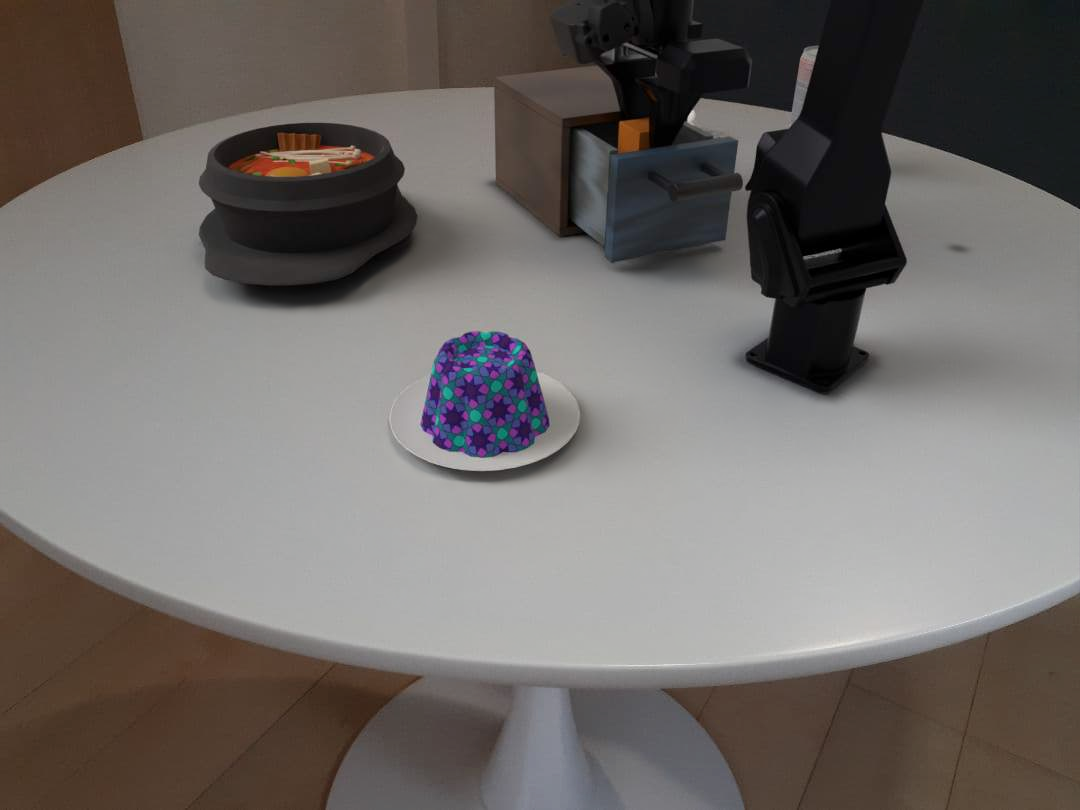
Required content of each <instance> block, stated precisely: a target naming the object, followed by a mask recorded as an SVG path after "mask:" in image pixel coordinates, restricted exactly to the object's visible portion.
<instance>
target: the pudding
mask: <svg viewBox="0 0 1080 810" xmlns="http://www.w3.org/2000/svg"><path fill="white" fill-rule="evenodd" d="M580 420H581V410H580V406H579V402H578V401H577V399H576V397H575V395H574V394H573V393H572V392H571V390H569V389H568V387H567V386H565V385H564V384H562V383H561V382H560V381H559V380H557V379H556V378H554V377H552V376H550V375H548V374H547V373H543V372H540V371H538V370H537V369H536V365H535V361H534V359H533V356H532V353H531V350H530V349H529V347H528V346H527V344H526V343H525V342H523V341H522V340H521V339H518V338H516V337H510V336H509V334H507V333H505V332H501V331H495V330H494V331H493V330H492V331H488V332H484V331H479V330H475V331H467V332H465V333H463V334H462V335H461V336H457V337H451V338H449V339H448V340H446V341H444V343H443V344H441V346H440V348H439V351H438V353H437V354H436V355H435V358H434V360H433V364H432V369H431V372H430V373H429V374H426V375H425V376H422V377H420V378H418V379H416V381H414V382H412V383H411V384H409V385H408V386H406V387H405V389H403V390H402V391H401V392H400V393H399V395H398V396H397V397H396V398H395V399H394V401H393V403H392V406H391V408H390V410H389V420H388V421H389V426H390V430H391V432H392V434H393V436H394V437H395V439H396V441H397V442H398V443H399V444H400V445H401V447H403V448H404V449H405V450H407V451H408V452H410V453H411V454H413V455H414V456H415V457H418V458H420V459H422V460H424V461H425V462H428V463H431V464H434V465H438V466H442V467H443V468H450V469H454V470H460V471H472V472H473V471H474V472H488V471H489V472H490V471H503V470H510V469H515V468H519V467H523V466H526V465H531V464H534V463H536V462H538V461H540V460H543V459H546V458H548V457H549V456H551V455H553V454H555V453H556V452H558V451H559V450H560V449H562V448H563V447H564V446H565V445H566V444H567V443H569V442H570V440H571V439H572V438H573V437H574V435H575V434H576V433H577V430H578V427H579V425H580Z"/></svg>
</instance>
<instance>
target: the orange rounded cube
mask: <svg viewBox="0 0 1080 810" xmlns="http://www.w3.org/2000/svg"><path fill="white" fill-rule="evenodd" d="M673 142H674V141H673ZM672 145H673V143H672ZM645 149H650V146H649V117H648V118H641V119H634V120H627V121H620V122H619V136H618V154H619V153H625V152H632V151H638V150H645Z"/></svg>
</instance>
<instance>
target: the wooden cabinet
mask: <svg viewBox="0 0 1080 810" xmlns="http://www.w3.org/2000/svg"><path fill="white" fill-rule="evenodd" d="M493 85H494V86H493V92H494V93H493V96H494V97H493V98H494V99H493V100H494V102H493V103H494V150H495V151H494V155H495V156H494V158H495V161H494V162H495V185H496V186H498V187H499V188H500V189H501V190H503V191H504V192H505V193H506V194H508V196H510V197H511V198H512V199H513V200H515V201H516V202H517V203H518V204H519V205H521V206H522V207H523V208H524V209H525V210H527V211H528V212H529V213H530V214H532V215H533V216H534V217H535V218H536V219H538V220H539V222H541V223H543V224H544V225H545V226H546V227H547V228H549V230H551V231H552V232H553V233H555V234H556V235H557V236H558V237H565V236H570V235H577V234H581V233H586V232H585V231H584V230H583V229H581V228H580V227H579V226H577V225H576V224H575V223H574V222H572V221H571V220H570V219H569V218H568V185H569V150H570V127H573V126H581V125H588V124H595V123H603V122H610V121H617V120H622V117H621V113H620V108H619V104H618V100H617V96H616V93H615V89H614V86H613V82H612V80H611V79H610V77H609V76H608V75H607V74H606V73H605V72H604V71H603V70H602V69H601V68H600V67H599V66H597V65H589V66H581V67H580V66H579V67H572V68H562V69H553V70H552V69H551V70H545V71H544V70H543V71H535V72H527V73H526V72H525V73H516V74H508V75H501V76H500V75H499V76H498V75H497V76H494V77H493ZM687 120H688V118H687V119H686V122H687Z"/></svg>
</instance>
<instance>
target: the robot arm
mask: <svg viewBox="0 0 1080 810" xmlns="http://www.w3.org/2000/svg"><path fill="white" fill-rule="evenodd" d="M924 3H925V0H830V3H829V7H828V11H827V14H826V18H825V23H824V25H823V28H822V32H821V37H820V40H819V44H818V46H819V47H818V51H817V55H816V58H815V62H814V66H813V70H812V73H811V77H810V81H809V85H808V88H807V92H806V96H805V99H804V103H803V107H802V110H801V113H800V115H799V116H798V118H797V119H796V120H795V122H794V123H793V124H792V125H791V126H790V125H789V126H790V127H789V126H788V128H783V129H776V130H770V131H765V132H763V133H762V135H761V137H760V138H759V141H758V142H757V145H756V148H755V156H754V165H753V170H752V171H751V175H750V177H749V180H748V181H747V182H746V185H745V187H744V189H745V191H746V192H750V194H749V197H748V200H747V207H746V228H747V240H748V254H749V266H750V277H751V280H752V281H753V282H755V283H756V284H757V285H759V286H760V288H761V290H760V294H761V295H762V296H764V297H765V298H769V299H774V304H773V310H772V315H771V321H770V326H769V334H768V337H767V338H766V339H764V340H763V341H761V342H759V343H758V344H757V345H755V346H754V347H752V348H751V349H750V350H748V351H746V353H745V357H744V359H745V361H746V362H747V363H749V364H752V365H755V366H757V367H758V368H762V369H764V370H767V371H769V372H770V373H774V374H776V375H778V376H781V377H784V378H786V379H787V380H790V381H793V382H795V383H798V384H800V385H803V386H805V387H807V388H810V389H812V390H814V391H817V392H819V393H825V394H826V393H829V392H831V391H833V390H834V389H835V388H836V387H837V386H839V385H841V383H842V382H843V381H845V380H846V379H848V377H850V376H851V375H852V374H853V373H855V372H856V371H857V370H858V369H859V368H861V367H862V366H863V365H865V364H866V363H867V362H868V361H869V359H870V353H869V352H868V351H867V350H864V349H862V348H859V347H857V346H854V344H855V341H856V336H857V331H858V327H859V322H860V320H861V319H860V318H861V315H862V311H863V310H862V309H863V306H864V300H865V296H866V293H867V289H870V288H874V287H878V286H879V287H880V286H883V285H892V284H895V283H896V281H897V279H898V278H899V276H900V275H901V273H902V272H903V270H904V269H905V267H906V266H907V263H908V259H907V256H906V253H905V251H904V249H903V246H902V244H901V241H900V238H899V236H898V232H897V230H896V228H895V225H894V223H893V220H892V218H891V216H890V212H889V210H888V207H887V205H886V201H887V197H888V192H889V187H890V182H891V177H892V167H891V163H890V159H889V155H888V152H887V148H886V144H885V139H884V136H883V128H884V123H885V121H886V116H887V114H888V111H889V109H890V105H891V102H892V99H893V96H894V93H895V90H896V87H897V85H898V81H899V78H900V75H901V72H902V69H903V66H904V63H905V60H906V58H907V54H908V51H909V48H910V45H911V42H912V39H913V35H914V33H915V30H916V27H917V23H918V21H919V18H920V15H921V12H922V9H923V6H924ZM694 4H695V0H570V1H568V2H566V3H563V4H562V5H560V6H557V7H556V8H554V9H553V10H551V11H550V12H549V13H548V18H549V21H550V25H551V28H552V31H553V34H554V39H555V42H556V45H557V48H558V52H559V54H560V55H561V56H563V57H566V56H567V57H569V58H571V59H572V60H574V62H575V63H576V64H579V65H587V64H591V63H593V64H594V65H595V66H599V67H600V68H601V69H602V70H603V71H604V72H605V73H606V74H607V75H608V76H609V77H610V79H611V80H612V82H613V86H614V89H615V93H616V96H617V100H618V104H619V108H620V113H621V117H622V121H627V120H634V119H641V118H648V117H649V146H650V149H652V148H658V147H665V146H671V145H672V143H673V141H674V140H675V138H676V136H677V134H678V133H679V131H680V129H681V128H682V126H683V124H684V123H685V121H686V119H687V118H688V116H689V114H690V113H691V111H692V110H694V109H695V107H696V106H697V104H698V103H699V101H700V100H701V98H702V97H703V96H704V94H710V93H711V94H712V93H719V92H727V91H728V92H729V91H734V90H742V89H748V88H749V86H750V81H751V74H752V73H751V71H752V66H753V65H752V64H753V59H752V57H751V55H750V54H749V53H748V52H747V50H746V49H745V48H744V47H742V46H739V45H736V44H733V43H731V42H728V41H726V40H723V39H720V38H709V39H701V38H702V36H703V26H704V24H703V23H701V22H699V21H696V20H693V15H694ZM691 39H700V40H691ZM688 40H690V41H688ZM837 250H841V251H837ZM832 251H836V252H833V253H829V252H832ZM823 253H826V254H823ZM827 253H828V254H827ZM818 254H822V255H819V256H815V257H810V258H805V257H809V256H813V255H818Z"/></svg>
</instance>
